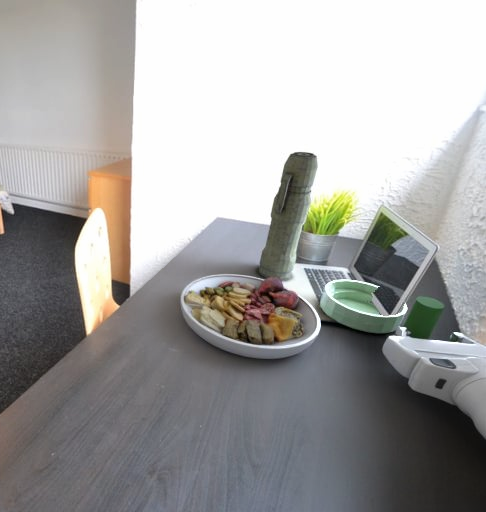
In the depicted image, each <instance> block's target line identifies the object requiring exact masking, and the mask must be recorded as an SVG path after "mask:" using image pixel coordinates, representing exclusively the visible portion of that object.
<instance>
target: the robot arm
mask: <svg viewBox="0 0 486 512" xmlns="http://www.w3.org/2000/svg"><path fill="white" fill-rule="evenodd" d="M410 334H411V332H410V330H408V328H403V326H399V327H398V328H397V330H395V335H389V336H388V337H386V340H385V341H384V342H383V346H382V354H383V355H384V357H385V358H386V360H387V361H388V362H389V363H390V365H391V366H392V368H394V369H395V371H396V372H397V373H398V374H400V375H401V376H402V377H405V378H406V379H408V382H407V384H408V386H409V388H410V389H411V390H413V391H414V392H417V393H420V394H424V395H427V396H430V397H433V398H435V399H437V400H440V401H442V402H443V401H444V402H446V403H447V404H450V405H453V406H455V407H457V408H458V409H459V410H460V411H461V412H462V414H464V415H466V416H467V417H468V418H470V419H471V420H472V422H473V424H474V427H475V428H476V430H477V432H478V433H479V434H480V435H481V437H483V439H484V440H485V441H486V345H484V344H482V343H480V342H478V341H476V340H474V339H471V338H469V337H467V336H466V335H465V334H464V333H462V332H452V333H451V334H450V336H449V340H450V341H444V340H434V339H428V340H426V339H417V338H410V337H409V335H410Z"/></svg>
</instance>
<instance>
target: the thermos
mask: <svg viewBox="0 0 486 512" xmlns="http://www.w3.org/2000/svg"><path fill="white" fill-rule="evenodd" d="M318 167H319V166H318V156H317V155H316V154H314V153H312V152H307V151H295V152H294V151H293V153H290V154H289V155H288V157H287V159H286V161H285V162H284V164H283V170H282V173H281V177H280V186H279V187H278V191H277V193H276V194H275V196H274V199H273V202H272V206H271V211H270V219H271V220H270V224H269V229H268V233H267V237H266V241H265V246H264V248H263V249H262V250H261V255H260V260H259V267H258V273H259V274H260V275H261V276H262V277H264V278H265V279H267V278H270V277H274V278H278V279H280V280H281V282H283V281H288V280H289V279H291V276H292V272H293V270H294V268H295V265H296V260H297V249H298V245H299V240H300V238H301V237H300V236H301V233H302V229H303V226H304V224H305V223H306V221H307V219H308V215H309V211H310V207H311V203H312V197H311V194H312V187H313V186H314V182H315V178H316V174H317V171H318Z"/></svg>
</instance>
